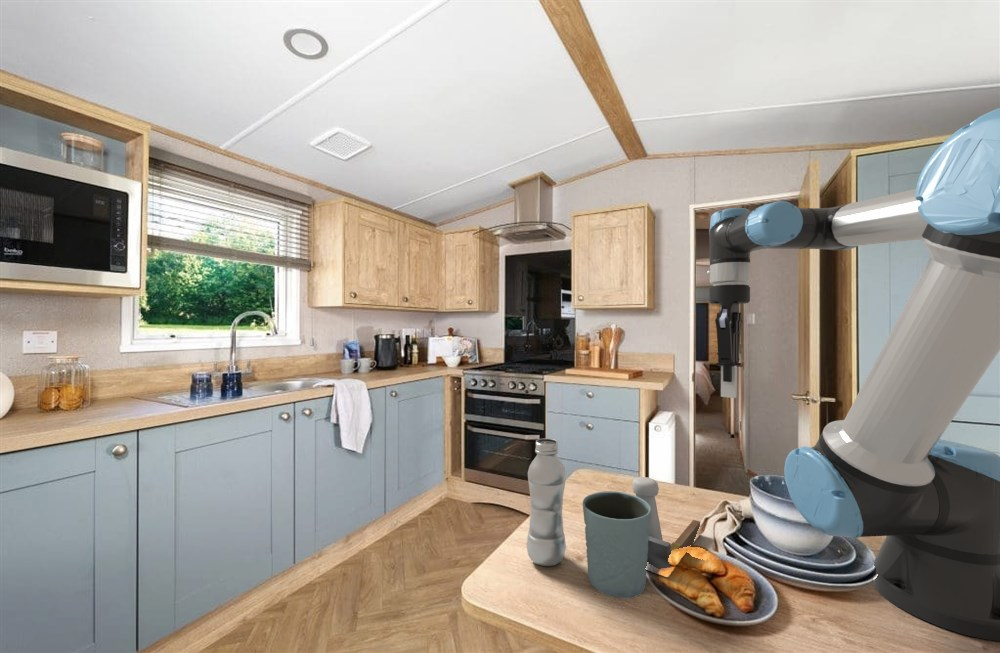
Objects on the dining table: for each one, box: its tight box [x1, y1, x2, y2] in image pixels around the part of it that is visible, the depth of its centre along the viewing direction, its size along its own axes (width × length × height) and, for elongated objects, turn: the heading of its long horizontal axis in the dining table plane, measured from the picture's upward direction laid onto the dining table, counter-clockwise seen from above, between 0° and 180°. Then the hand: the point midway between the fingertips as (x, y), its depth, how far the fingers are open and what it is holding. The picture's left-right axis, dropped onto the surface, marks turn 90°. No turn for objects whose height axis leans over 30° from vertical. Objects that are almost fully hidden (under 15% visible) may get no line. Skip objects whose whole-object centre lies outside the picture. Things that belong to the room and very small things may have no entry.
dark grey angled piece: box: [647, 519, 701, 569], centre depth 76 cm, size 11×18×5 cm, turn 140°
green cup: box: [582, 490, 651, 599], centre depth 65 cm, size 10×10×12 cm
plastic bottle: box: [526, 438, 567, 567], centre depth 70 cm, size 6×7×20 cm
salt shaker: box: [631, 476, 664, 541], centre depth 72 cm, size 6×6×13 cm
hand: (728, 396), depth 88 cm, fingers closed
